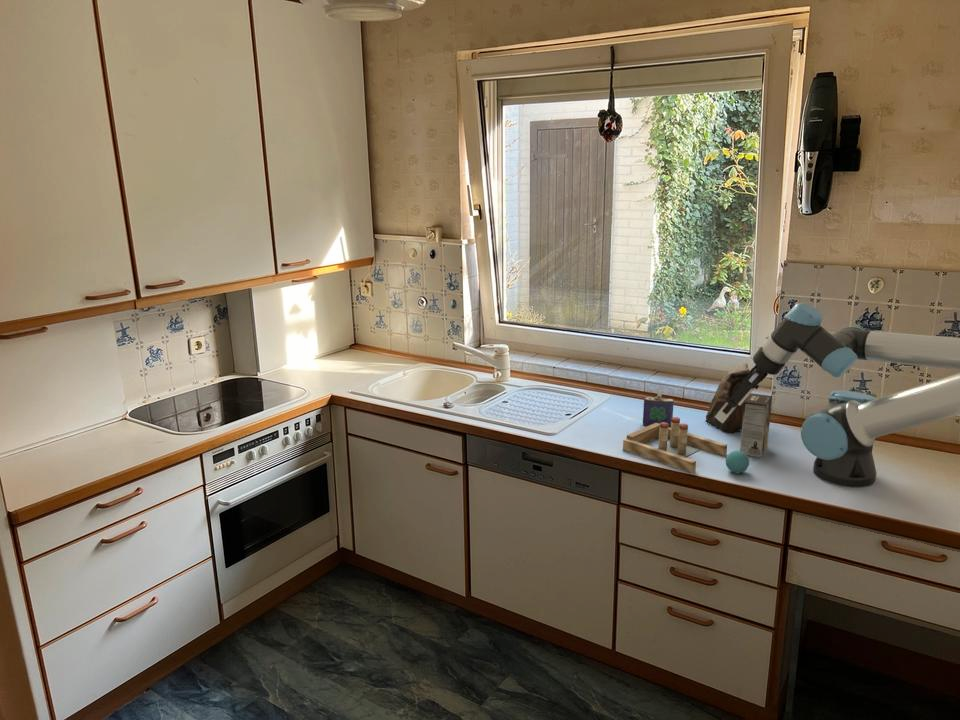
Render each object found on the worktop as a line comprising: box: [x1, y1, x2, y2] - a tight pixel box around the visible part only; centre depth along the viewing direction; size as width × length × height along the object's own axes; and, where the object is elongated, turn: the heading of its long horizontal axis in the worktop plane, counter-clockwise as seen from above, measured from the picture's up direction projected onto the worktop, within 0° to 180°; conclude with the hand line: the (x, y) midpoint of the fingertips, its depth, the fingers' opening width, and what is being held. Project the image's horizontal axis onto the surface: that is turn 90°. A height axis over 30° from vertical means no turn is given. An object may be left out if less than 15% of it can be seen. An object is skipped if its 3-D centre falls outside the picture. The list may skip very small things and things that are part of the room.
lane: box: [622, 423, 728, 474], centre depth 212 cm, size 23×18×4 cm
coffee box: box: [739, 392, 773, 458], centre depth 211 cm, size 9×6×16 cm
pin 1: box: [657, 422, 669, 451], centre depth 211 cm, size 2×2×9 cm
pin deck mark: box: [667, 442, 700, 458], centre depth 213 cm, size 9×12×1 cm
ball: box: [725, 450, 750, 474], centre depth 198 cm, size 6×6×6 cm
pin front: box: [677, 423, 689, 455], centre depth 210 cm, size 2×2×9 cm
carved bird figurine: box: [704, 362, 750, 435], centre depth 228 cm, size 13×13×20 cm
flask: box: [642, 393, 675, 428], centre depth 232 cm, size 9×3×11 cm, turn 78°
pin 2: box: [669, 416, 681, 448], centre depth 215 cm, size 2×2×9 cm
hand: (727, 410), depth 202 cm, fingers open, 13 cm apart
